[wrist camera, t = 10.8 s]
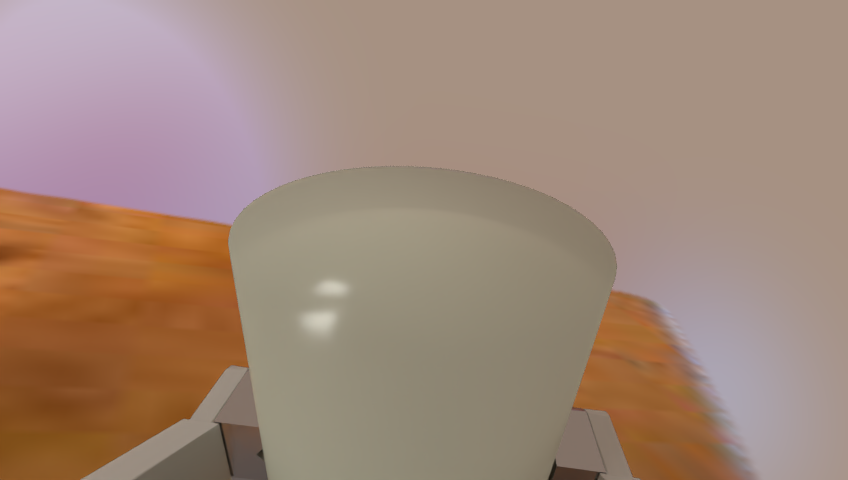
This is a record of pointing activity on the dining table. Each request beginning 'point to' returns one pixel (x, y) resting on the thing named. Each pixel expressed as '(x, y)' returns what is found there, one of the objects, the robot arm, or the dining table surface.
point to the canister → (415, 323)
